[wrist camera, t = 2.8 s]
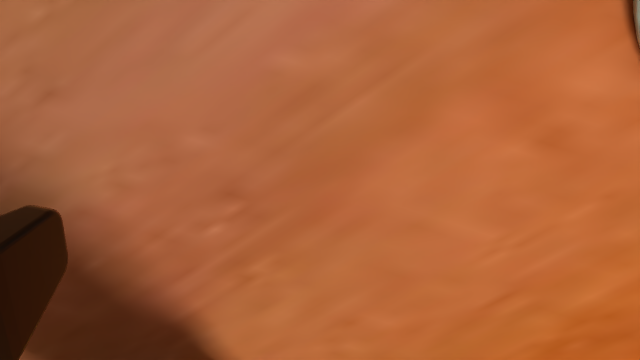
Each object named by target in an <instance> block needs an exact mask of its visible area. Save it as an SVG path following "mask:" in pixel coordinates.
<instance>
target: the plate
mask: <svg viewBox="0 0 640 360" xmlns="http://www.w3.org/2000/svg"><path fill="white" fill-rule="evenodd" d="M633 14H634V21H635V28H636V35H637V41H638V44H639V47H640V0H633Z"/></svg>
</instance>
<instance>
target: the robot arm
mask: <svg viewBox="0 0 640 360" xmlns="http://www.w3.org/2000/svg"><path fill="white" fill-rule="evenodd" d="M67 263H68V252H67V246H66V240H65V234H64V228H63V222H62V218H61V215H60V214H59V212H57V211H56V210H54V209H49V208H44V207H39V206H34V205H28V206H24V207H22V208H19V209H16V210H14V211H11V212H9V213H6V214H4V215H1V216H0V360H19V358H20V356H21V354H22V353H23V351H24V349H25V347H26V345H27V343H28V341H29V340H30V338H31V336H32V334H33V332H34V330H35V328H36V326H37V324H38V322H39V321H40V319H41V317H42V315H43V313H44V311H45V309H46V307H47V305H48V304H49V302H50V300H51V298H52V296H53V294H54V292H55V290H56V288H57V287H58V285H59V283H60V281H61V279H62V277H63V275H64V273H65V271H66V268H67Z"/></svg>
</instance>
